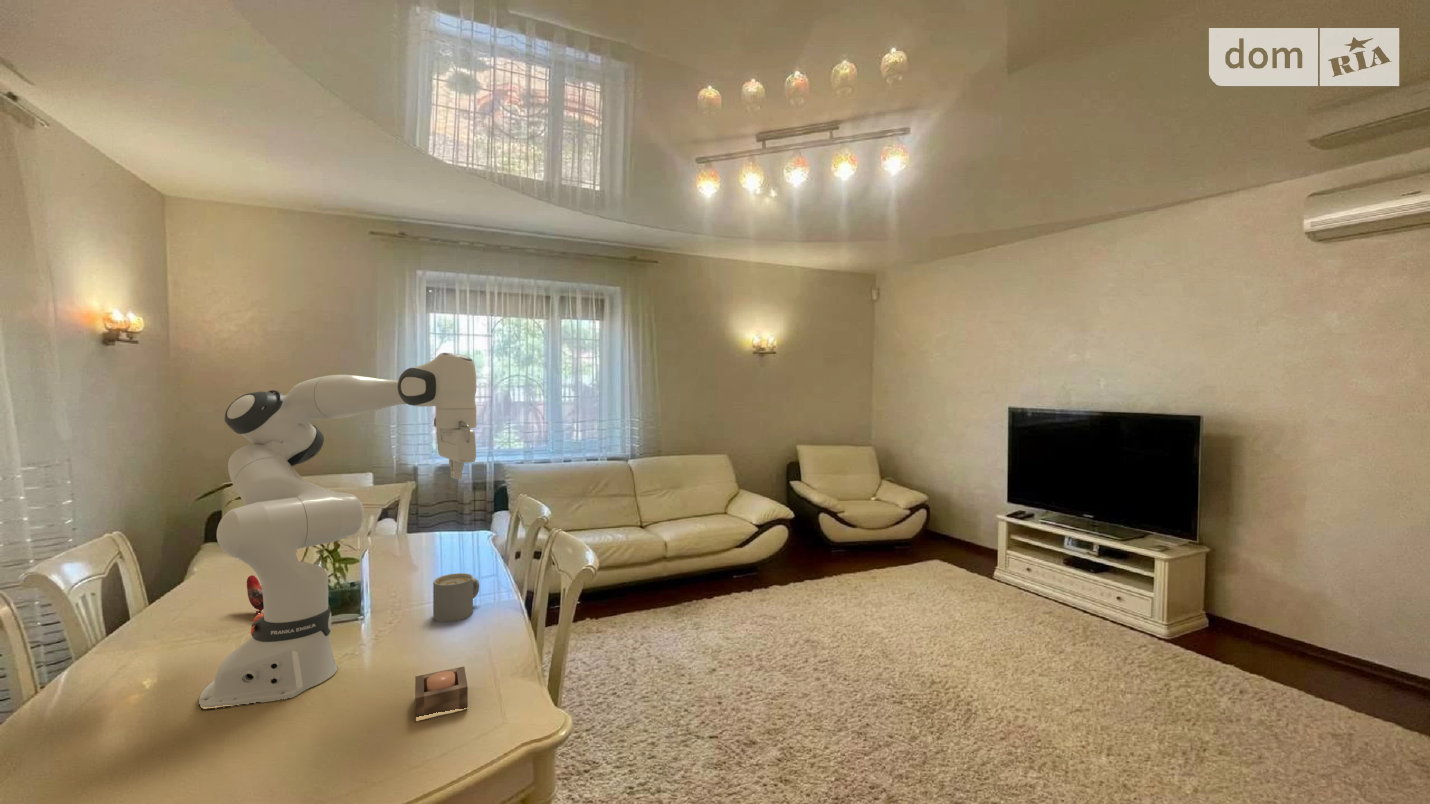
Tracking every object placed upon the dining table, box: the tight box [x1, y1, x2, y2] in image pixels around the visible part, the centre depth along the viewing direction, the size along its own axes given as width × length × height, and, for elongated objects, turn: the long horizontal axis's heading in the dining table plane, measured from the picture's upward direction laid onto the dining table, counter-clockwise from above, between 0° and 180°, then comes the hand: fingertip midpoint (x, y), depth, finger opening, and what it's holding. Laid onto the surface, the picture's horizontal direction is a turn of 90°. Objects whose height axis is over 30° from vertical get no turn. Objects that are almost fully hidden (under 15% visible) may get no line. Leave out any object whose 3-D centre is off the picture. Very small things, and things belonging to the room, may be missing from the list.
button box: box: [414, 666, 469, 718], centre depth 109 cm, size 9×9×4 cm
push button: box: [427, 670, 455, 692], centre depth 109 cm, size 5×5×4 cm
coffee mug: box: [432, 572, 480, 623], centre depth 154 cm, size 13×10×10 cm
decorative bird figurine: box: [246, 574, 264, 614], centre depth 151 cm, size 3×18×10 cm, turn 59°
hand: (456, 478), depth 132 cm, fingers closed
